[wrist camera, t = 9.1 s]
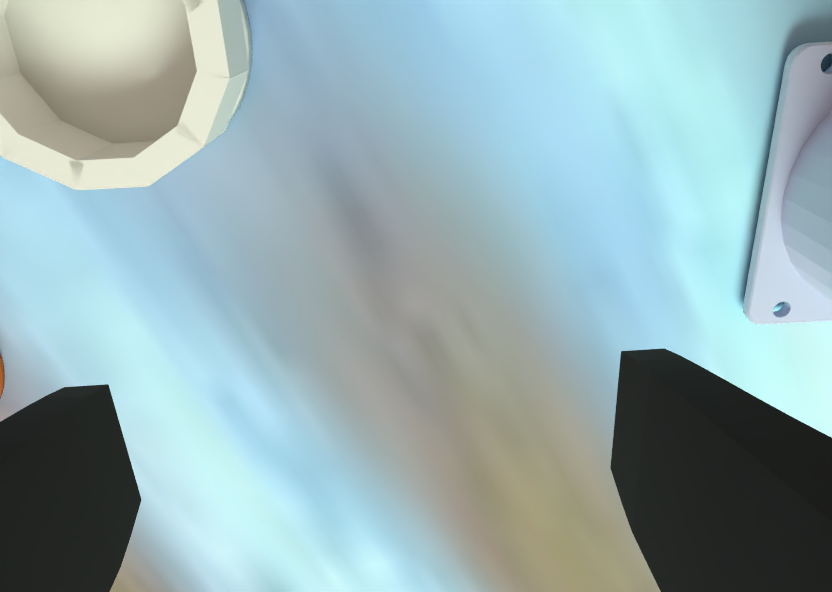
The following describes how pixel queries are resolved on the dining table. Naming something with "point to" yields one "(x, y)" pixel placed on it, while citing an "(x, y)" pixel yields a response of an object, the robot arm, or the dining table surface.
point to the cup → (118, 85)
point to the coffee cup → (1, 376)
